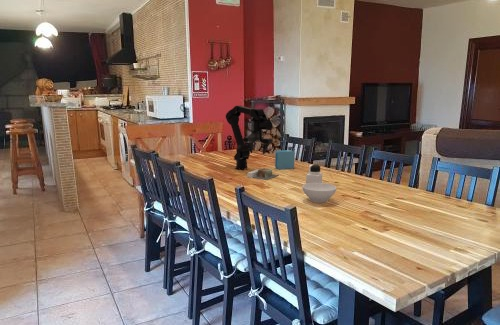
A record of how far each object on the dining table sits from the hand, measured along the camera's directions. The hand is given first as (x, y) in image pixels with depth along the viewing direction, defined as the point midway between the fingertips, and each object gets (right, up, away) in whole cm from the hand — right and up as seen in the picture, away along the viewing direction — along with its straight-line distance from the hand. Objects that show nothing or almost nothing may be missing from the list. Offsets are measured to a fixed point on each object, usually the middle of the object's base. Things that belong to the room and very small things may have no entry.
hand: (257, 153), depth 241 cm
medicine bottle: (+30, -19, -33) cm, 49 cm away
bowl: (+28, -24, -60) cm, 70 cm away
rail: (-1, -14, -7) cm, 15 cm away
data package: (+18, -10, +14) cm, 25 cm away
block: (+2, -12, -9) cm, 15 cm away
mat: (+5, -14, -10) cm, 18 cm away
